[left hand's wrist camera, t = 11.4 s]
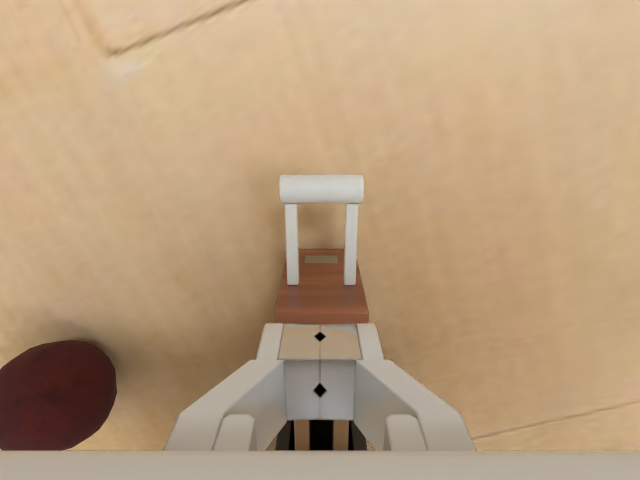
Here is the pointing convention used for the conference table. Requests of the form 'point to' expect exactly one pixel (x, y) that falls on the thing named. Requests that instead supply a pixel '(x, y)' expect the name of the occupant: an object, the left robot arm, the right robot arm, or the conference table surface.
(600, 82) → the conference table surface
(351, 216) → the drawer
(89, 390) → the dark red rounded ball
